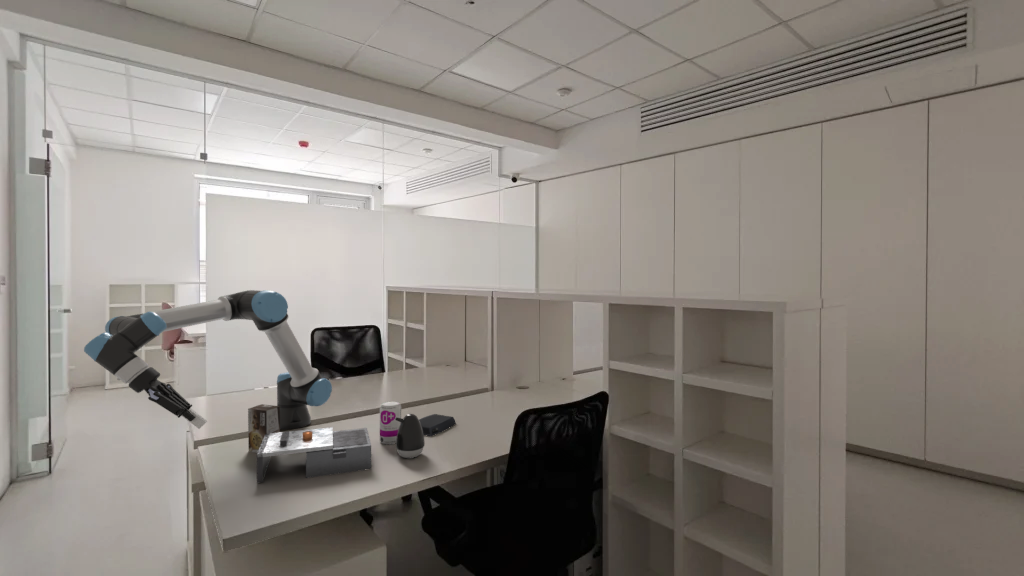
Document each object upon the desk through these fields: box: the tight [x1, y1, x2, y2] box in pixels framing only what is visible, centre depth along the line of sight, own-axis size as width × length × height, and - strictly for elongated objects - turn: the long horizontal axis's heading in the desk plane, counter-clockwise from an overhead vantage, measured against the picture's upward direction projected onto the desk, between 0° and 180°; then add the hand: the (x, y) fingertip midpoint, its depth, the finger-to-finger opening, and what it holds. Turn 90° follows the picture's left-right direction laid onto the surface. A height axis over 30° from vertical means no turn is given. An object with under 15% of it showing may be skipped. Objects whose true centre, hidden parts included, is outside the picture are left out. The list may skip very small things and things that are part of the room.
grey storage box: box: [305, 427, 372, 478], centre depth 161 cm, size 20×24×8 cm
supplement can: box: [379, 400, 402, 445], centre depth 183 cm, size 8×8×15 cm
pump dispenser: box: [395, 413, 426, 459], centre depth 168 cm, size 10×10×15 cm
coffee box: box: [247, 404, 281, 454], centre depth 172 cm, size 9×6×16 cm
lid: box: [256, 426, 334, 484], centre depth 157 cm, size 22×20×11 cm
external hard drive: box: [418, 413, 457, 437], centre depth 200 cm, size 13×19×4 cm
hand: (203, 425), depth 146 cm, fingers closed
